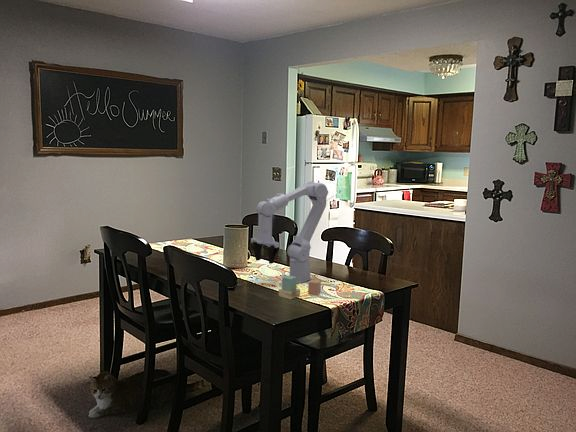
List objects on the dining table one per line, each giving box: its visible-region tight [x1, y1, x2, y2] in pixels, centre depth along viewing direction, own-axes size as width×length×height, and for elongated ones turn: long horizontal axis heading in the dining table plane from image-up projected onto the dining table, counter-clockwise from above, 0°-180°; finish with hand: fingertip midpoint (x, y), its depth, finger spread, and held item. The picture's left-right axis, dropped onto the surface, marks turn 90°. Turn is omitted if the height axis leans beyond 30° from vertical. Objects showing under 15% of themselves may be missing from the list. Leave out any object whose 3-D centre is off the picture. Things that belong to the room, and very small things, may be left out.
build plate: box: [227, 283, 243, 292], centre depth 212 cm, size 12×7×5 cm, turn 165°
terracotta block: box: [307, 279, 322, 296], centre depth 206 cm, size 4×4×5 cm
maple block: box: [278, 287, 301, 300], centre depth 202 cm, size 6×6×3 cm
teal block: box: [281, 274, 297, 292], centre depth 201 cm, size 4×4×5 cm
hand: (264, 261), depth 216 cm, fingers open, 7 cm apart
